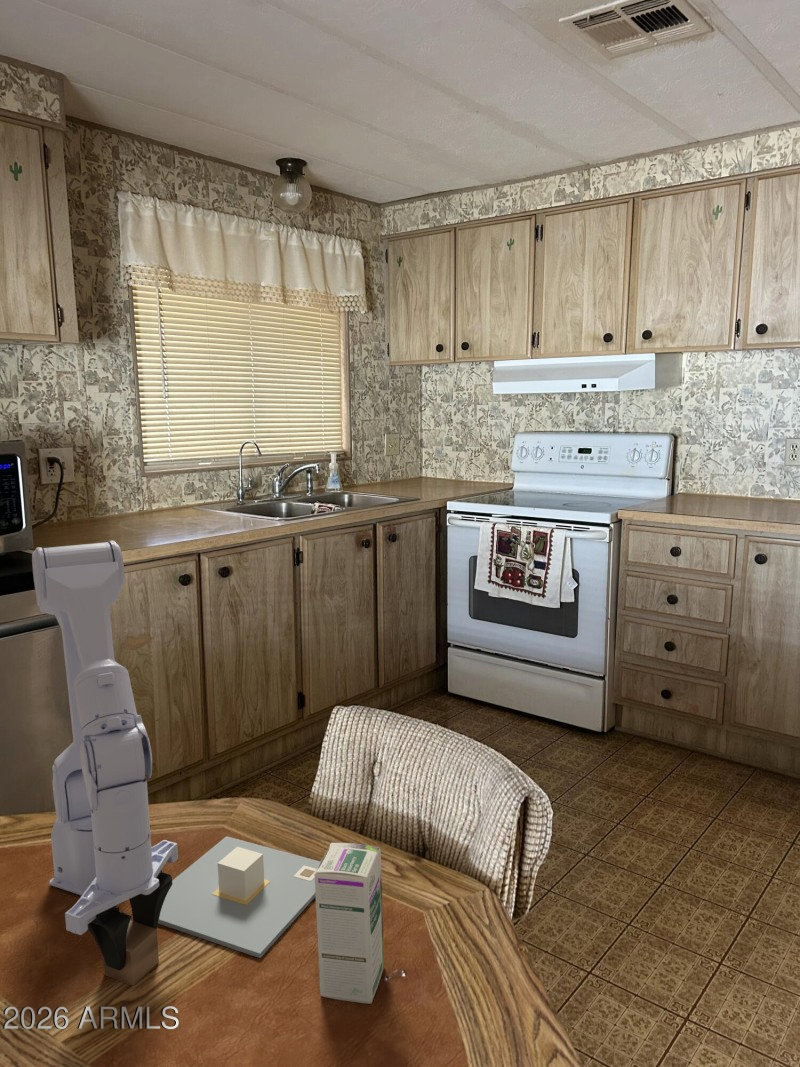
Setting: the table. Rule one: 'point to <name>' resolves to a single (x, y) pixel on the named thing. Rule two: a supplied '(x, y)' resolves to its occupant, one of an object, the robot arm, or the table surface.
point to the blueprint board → (233, 919)
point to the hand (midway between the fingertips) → (130, 952)
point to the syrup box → (350, 922)
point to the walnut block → (137, 954)
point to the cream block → (241, 873)
